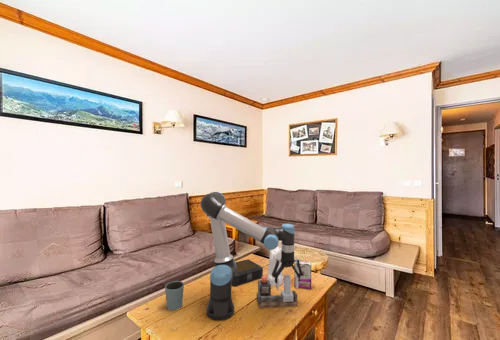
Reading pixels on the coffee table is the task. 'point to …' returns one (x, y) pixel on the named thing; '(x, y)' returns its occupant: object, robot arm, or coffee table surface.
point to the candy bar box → (306, 278)
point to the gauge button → (264, 279)
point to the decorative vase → (272, 261)
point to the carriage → (287, 290)
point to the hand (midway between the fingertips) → (287, 287)
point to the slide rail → (275, 301)
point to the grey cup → (174, 295)
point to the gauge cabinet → (264, 288)
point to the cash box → (246, 272)
